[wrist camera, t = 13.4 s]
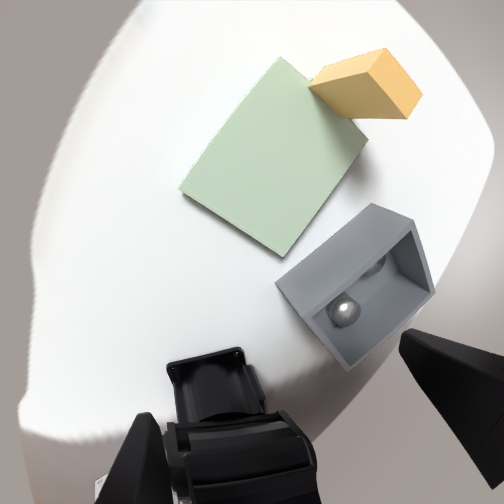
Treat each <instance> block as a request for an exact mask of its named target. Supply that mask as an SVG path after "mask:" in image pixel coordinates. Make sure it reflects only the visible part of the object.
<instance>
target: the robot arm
mask: <svg viewBox="0 0 504 504" xmlns="http://www.w3.org/2000/svg"><path fill="white" fill-rule="evenodd" d="M236 352H239V353H237V354H235V353H236ZM399 353H400V355H401V357H402V358H403V360H404V362H405V363H406V365H407V366H408V368H409V370H410V372H411V373H412V375H413V377H414V378H415V380H416V381H417V383H418V385H419V386H420V387H421V389H422V390H423V391H424V393H425V394H426V395H427V397H428V398H429V400H430V401H431V402H432V404H433V405H434V406H435V408H436V409H437V410H438V412H439V413H440V414H441V416H442V417H443V419H444V420H445V421H446V423H447V424H448V426H449V427H450V428H451V430H452V431H453V433H454V434H455V436H456V437H457V438H458V440H459V441H460V443H461V444H462V446H463V447H464V449H465V450H466V451H467V453H468V454H469V455H470V458H471V459H472V460H473V462H474V463H475V465H476V466H477V468H478V469H479V471H480V472H481V474H482V476H483V477H484V479H485V480H486V481H487V483H488V485H489V486H490V488H491V489H492V490H493V489H494V488H496V487H497V486H498V485H499V484H500V483H502V482H503V481H504V356H500V355H497V354H494V353H490V352H487V351H484V350H480V349H477V348H474V347H470V346H467V345H464V344H461V343H457V342H454V341H451V340H448V339H445V338H441V337H438V336H435V335H432V334H428V333H426V332H422V331H419V330H416V329H412V328H411V329H408V330H406V331H404V332H403V333H402V335H401V339H400V344H399ZM170 368H174V369H170ZM166 370H167V373H168V375H169V378H170V380H171V382H172V384H173V387H174V396H175V404H176V412H177V420H178V423H174V422H167V429H168V431H165V434H164V435H162V434H161V430H160V427H159V425H158V424H157V422H156V420H155V419H154V417H153V416H152V414H151V413H150V412H144V413H139V414H137V416H136V418H135V420H134V422H133V424H132V426H131V428H130V430H129V432H128V434H127V436H126V438H125V440H124V442H123V444H122V446H121V448H120V450H119V452H118V454H117V456H116V459H115V461H114V463H113V465H112V467H111V469H110V471H109V473H108V475H107V477H106V480H105V482H104V484H103V486H102V488H101V490H100V492H99V495H98V497H97V499H96V501H95V503H94V504H174V501H173V494H172V489H173V493H175V492H176V494H177V498H178V502H183V501H190V503H191V504H322V503H321V500H320V496H319V493H318V487H317V481H316V472H317V459H316V454H315V451H314V448H313V445H312V444H311V442H310V440H309V439H308V437H307V436H306V435H305V434H304V433H303V432H302V430H301V429H300V428H299V427H298V426H297V425H296V424H295V422H294V421H293V420H292V419H291V418H290V417H289V415H288V414H287V413H286V412H285V411H284V410H281V411H277V412H276V413H270V414H268V409H267V403H266V398H265V395H264V393H263V391H262V388H261V386H260V384H259V381H258V379H257V377H256V374H255V372H254V370H253V367H252V366H250V365H247V366H246V363H245V359H244V354H243V351H242V349H241V348H240V347H234V348H230V349H226V350H222V351H218V352H214V353H210V354H206V355H202V356H198V357H193V358H189V359H185V360H180V361H175V362H171V363H168V364H167V366H166Z"/></svg>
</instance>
